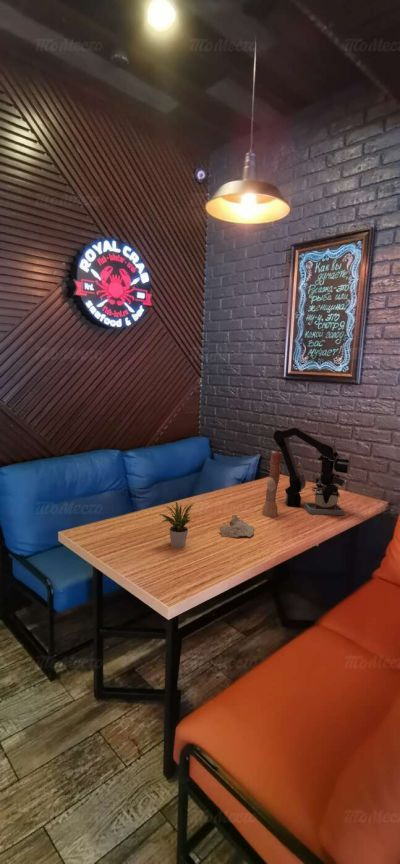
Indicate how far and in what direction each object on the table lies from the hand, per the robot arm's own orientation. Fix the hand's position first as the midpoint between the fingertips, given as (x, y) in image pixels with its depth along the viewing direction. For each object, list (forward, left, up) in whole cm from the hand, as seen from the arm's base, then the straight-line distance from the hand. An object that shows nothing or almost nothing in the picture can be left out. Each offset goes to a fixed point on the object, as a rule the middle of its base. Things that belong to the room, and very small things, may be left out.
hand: (324, 501), depth 207 cm
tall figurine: (-27, -7, -5) cm, 28 cm away
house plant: (-69, -46, -5) cm, 83 cm away
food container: (0, +1, -4) cm, 4 cm away
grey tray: (0, 0, -5) cm, 5 cm away
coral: (-46, -31, -6) cm, 55 cm away
